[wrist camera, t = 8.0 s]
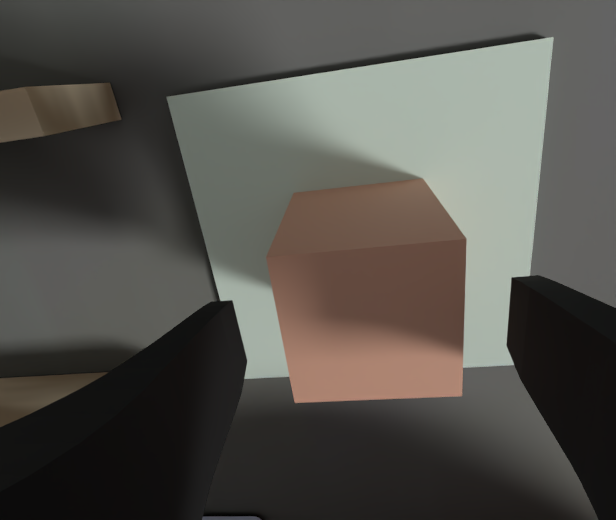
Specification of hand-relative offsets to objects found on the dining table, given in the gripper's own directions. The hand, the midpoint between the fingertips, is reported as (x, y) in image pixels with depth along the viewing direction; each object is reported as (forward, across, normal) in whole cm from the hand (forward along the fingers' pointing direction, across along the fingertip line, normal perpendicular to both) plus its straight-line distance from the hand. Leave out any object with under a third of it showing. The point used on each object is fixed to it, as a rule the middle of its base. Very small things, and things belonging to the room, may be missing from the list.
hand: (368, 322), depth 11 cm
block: (+5, 0, 0) cm, 5 cm away
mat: (+5, 0, 0) cm, 5 cm away
